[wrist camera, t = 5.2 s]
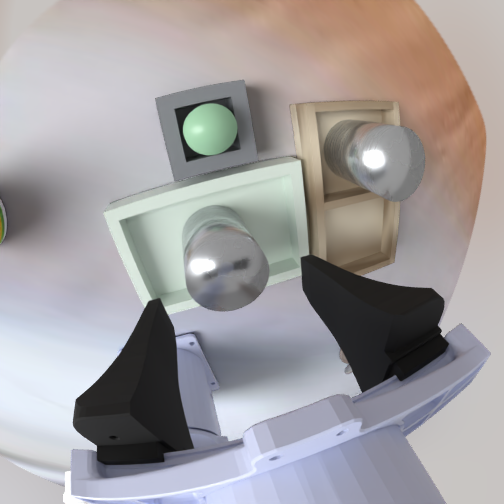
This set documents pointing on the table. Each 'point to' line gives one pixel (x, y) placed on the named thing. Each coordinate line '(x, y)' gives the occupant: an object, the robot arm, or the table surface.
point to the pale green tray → (201, 195)
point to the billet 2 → (376, 157)
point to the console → (182, 103)
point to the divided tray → (343, 191)
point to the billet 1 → (222, 260)
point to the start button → (210, 129)
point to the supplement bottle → (2, 222)
